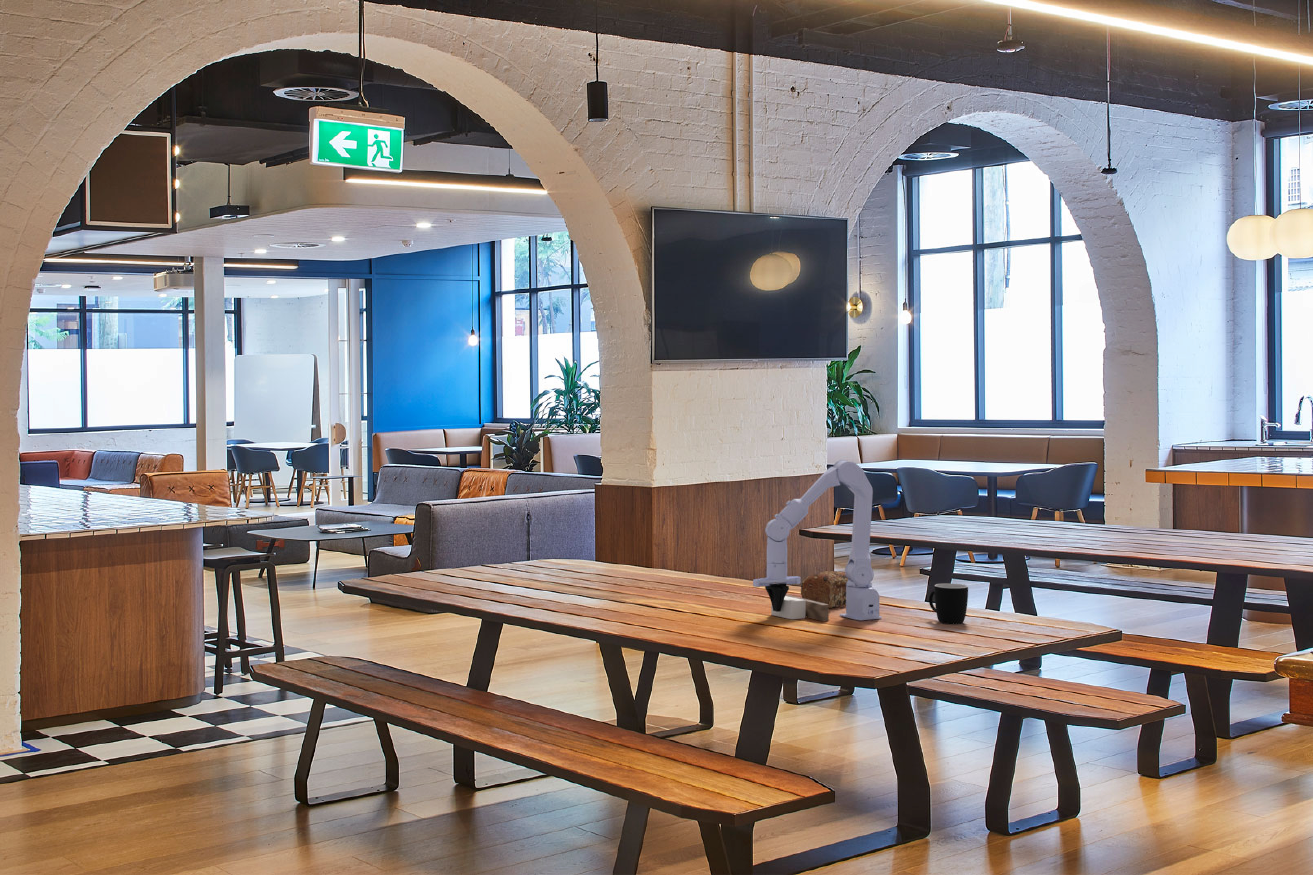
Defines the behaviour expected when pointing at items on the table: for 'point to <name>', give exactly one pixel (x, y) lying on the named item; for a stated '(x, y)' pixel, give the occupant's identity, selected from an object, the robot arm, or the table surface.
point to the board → (815, 609)
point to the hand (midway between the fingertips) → (776, 611)
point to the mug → (950, 602)
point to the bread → (826, 588)
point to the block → (791, 608)
